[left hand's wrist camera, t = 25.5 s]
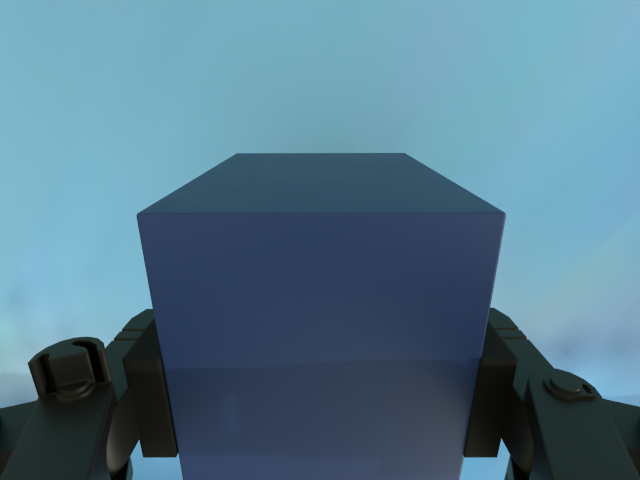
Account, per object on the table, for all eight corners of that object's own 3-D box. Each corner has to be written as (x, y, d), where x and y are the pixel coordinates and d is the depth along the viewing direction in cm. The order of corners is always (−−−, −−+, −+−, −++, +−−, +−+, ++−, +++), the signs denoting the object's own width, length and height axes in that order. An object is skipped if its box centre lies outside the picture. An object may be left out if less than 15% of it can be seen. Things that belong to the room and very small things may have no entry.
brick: (251, 348, 18) (194, 549, 10) (236, 153, 15) (134, 213, 7) (390, 348, 18) (448, 549, 10) (405, 153, 15) (507, 212, 7)
